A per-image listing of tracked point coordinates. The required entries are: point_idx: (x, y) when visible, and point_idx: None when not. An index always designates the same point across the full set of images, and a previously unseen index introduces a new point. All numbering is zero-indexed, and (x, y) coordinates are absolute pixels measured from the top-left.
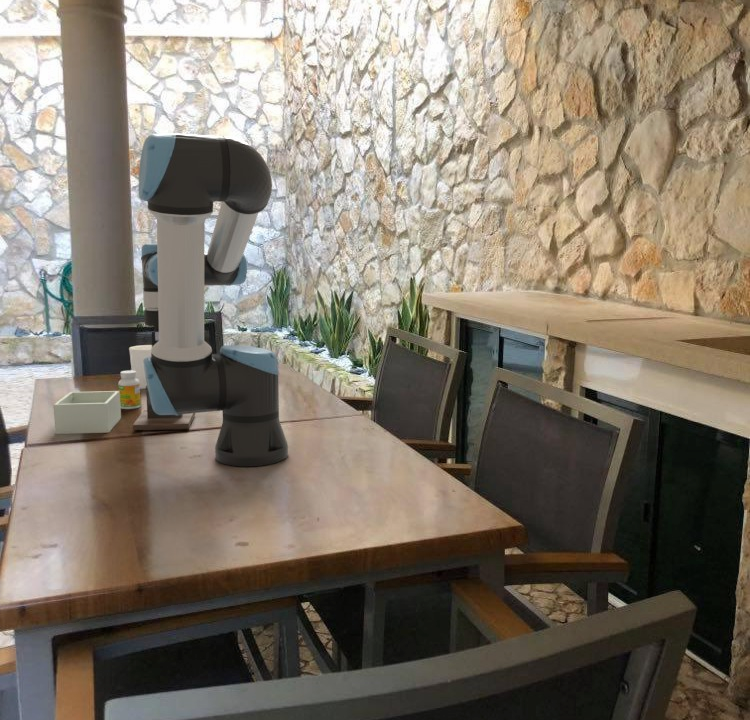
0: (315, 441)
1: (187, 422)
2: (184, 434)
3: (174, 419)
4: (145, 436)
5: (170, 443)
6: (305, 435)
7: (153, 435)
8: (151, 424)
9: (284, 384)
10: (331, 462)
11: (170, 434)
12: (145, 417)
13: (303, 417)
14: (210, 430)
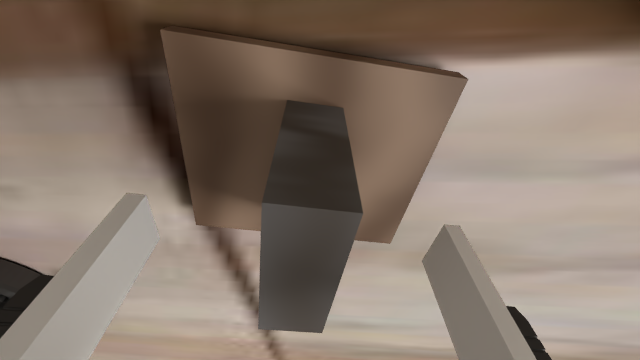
0: (134, 350)
1: (209, 222)
2: (160, 197)
3: (254, 192)
4: (115, 81)
5: (43, 162)
6: (171, 346)
7: (135, 111)
8: (176, 117)
9: (584, 357)
10: None
11: (156, 163)
12: (309, 90)
13: (296, 353)
14: (207, 248)
